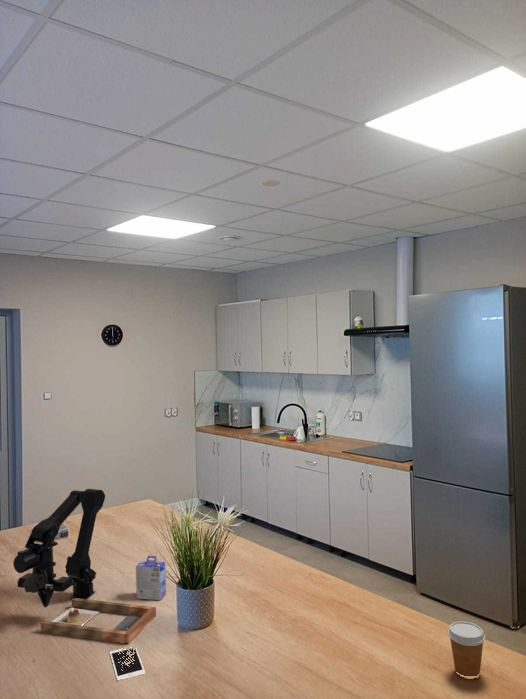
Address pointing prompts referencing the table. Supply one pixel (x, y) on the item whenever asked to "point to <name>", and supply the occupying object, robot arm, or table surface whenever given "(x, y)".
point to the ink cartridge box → (151, 579)
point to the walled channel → (120, 633)
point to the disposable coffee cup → (466, 647)
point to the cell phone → (127, 671)
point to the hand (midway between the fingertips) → (45, 606)
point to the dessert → (75, 615)
